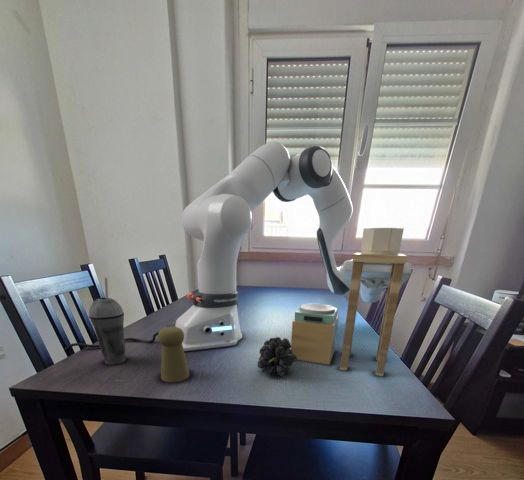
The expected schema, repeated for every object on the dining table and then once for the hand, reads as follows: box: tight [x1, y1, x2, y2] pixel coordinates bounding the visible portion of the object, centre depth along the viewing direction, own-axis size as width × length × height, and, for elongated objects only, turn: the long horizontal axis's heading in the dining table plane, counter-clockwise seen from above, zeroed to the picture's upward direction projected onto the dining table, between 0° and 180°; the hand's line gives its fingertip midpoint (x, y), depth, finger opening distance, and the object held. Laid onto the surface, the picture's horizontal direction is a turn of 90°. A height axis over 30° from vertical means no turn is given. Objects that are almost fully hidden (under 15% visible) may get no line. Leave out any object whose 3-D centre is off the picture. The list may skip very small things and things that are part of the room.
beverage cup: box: [88, 277, 126, 365], centre depth 66 cm, size 7×7×20 cm
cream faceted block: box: [360, 227, 404, 255], centre depth 66 cm, size 19×8×5 cm, turn 159°
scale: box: [290, 302, 340, 366], centre depth 73 cm, size 10×10×13 cm
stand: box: [339, 252, 408, 377], centre depth 65 cm, size 12×10×26 cm
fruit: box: [257, 336, 298, 376], centre depth 66 cm, size 9×8×15 cm
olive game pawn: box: [157, 326, 190, 383], centre depth 60 cm, size 6×6×11 cm
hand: (377, 259), depth 83 cm, fingers open, 8 cm apart
